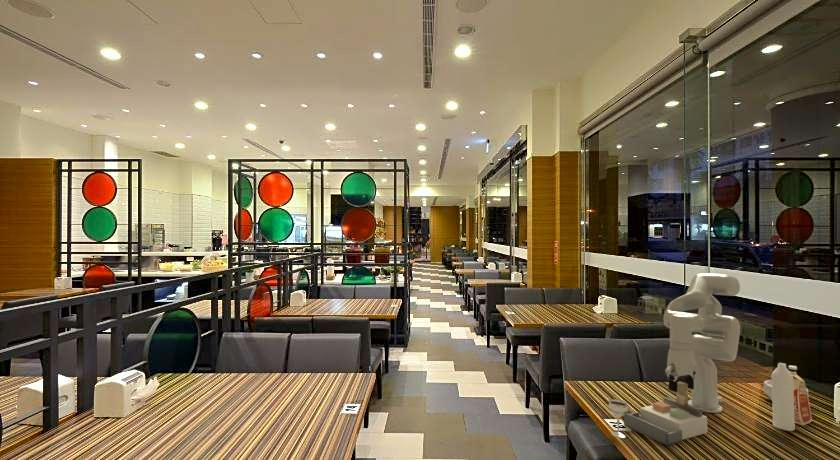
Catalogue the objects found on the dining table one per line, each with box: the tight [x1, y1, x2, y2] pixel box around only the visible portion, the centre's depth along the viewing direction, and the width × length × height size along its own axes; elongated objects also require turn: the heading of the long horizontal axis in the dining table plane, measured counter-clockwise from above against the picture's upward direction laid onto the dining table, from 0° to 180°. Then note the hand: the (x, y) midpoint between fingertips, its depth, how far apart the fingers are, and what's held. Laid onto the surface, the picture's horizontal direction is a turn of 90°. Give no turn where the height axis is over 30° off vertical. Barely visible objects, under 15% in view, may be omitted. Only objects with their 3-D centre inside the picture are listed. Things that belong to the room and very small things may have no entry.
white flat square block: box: [639, 404, 708, 441], centre depth 161 cm, size 16×16×6 cm
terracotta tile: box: [652, 401, 671, 412], centre depth 164 cm, size 4×4×2 cm
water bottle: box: [771, 362, 798, 432], centre depth 161 cm, size 9×6×25 cm
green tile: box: [669, 408, 689, 419], centre depth 157 cm, size 4×4×2 cm
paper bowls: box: [763, 379, 810, 401], centre depth 187 cm, size 15×15×8 cm
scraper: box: [662, 381, 703, 417], centre depth 164 cm, size 3×14×10 cm, turn 23°
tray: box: [623, 411, 683, 447], centre depth 156 cm, size 8×18×5 cm, turn 23°
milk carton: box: [789, 370, 813, 426], centre depth 170 cm, size 9×9×20 cm
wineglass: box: [608, 398, 629, 439], centre depth 155 cm, size 7×7×12 cm
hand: (681, 389), depth 163 cm, fingers open, 9 cm apart
